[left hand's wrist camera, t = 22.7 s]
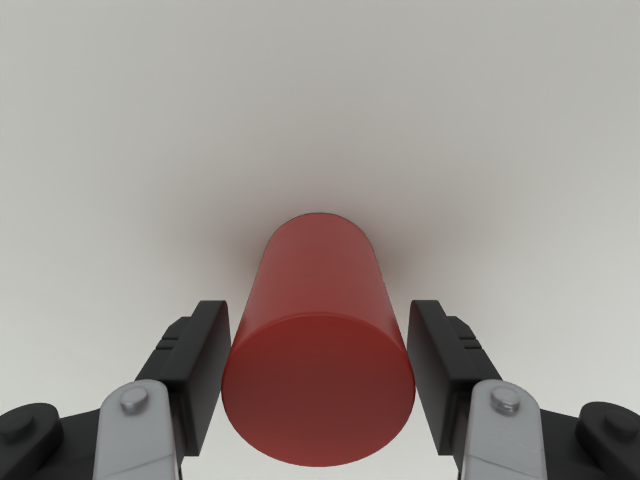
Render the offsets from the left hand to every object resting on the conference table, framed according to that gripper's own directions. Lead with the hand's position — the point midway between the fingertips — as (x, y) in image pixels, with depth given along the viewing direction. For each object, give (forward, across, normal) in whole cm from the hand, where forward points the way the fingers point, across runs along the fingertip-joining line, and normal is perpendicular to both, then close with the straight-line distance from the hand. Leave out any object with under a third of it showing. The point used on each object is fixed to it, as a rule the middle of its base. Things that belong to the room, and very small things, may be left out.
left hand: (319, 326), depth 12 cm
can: (+5, 0, 0) cm, 5 cm away
